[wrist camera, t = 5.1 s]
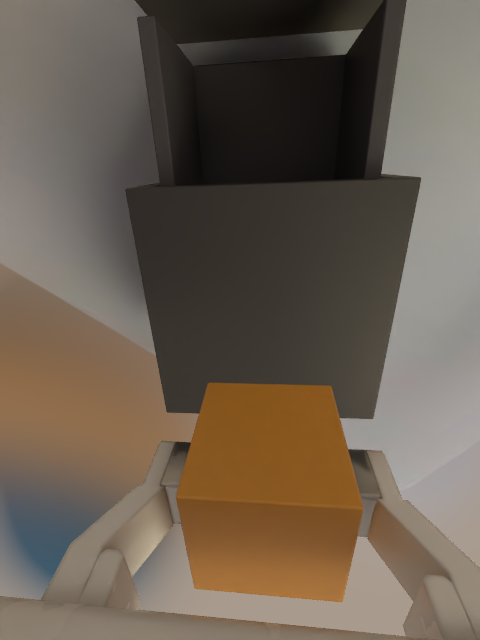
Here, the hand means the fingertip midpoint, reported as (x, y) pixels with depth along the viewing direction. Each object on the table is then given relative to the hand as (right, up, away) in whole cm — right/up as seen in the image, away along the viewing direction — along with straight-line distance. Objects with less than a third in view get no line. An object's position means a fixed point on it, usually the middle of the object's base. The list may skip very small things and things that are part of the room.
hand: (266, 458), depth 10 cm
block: (0, +1, +1) cm, 1 cm away
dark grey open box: (+2, +9, +17) cm, 19 cm away
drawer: (+1, +20, +11) cm, 22 cm away
